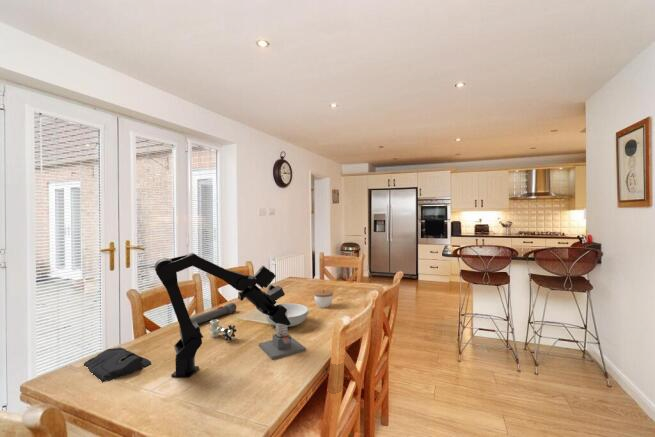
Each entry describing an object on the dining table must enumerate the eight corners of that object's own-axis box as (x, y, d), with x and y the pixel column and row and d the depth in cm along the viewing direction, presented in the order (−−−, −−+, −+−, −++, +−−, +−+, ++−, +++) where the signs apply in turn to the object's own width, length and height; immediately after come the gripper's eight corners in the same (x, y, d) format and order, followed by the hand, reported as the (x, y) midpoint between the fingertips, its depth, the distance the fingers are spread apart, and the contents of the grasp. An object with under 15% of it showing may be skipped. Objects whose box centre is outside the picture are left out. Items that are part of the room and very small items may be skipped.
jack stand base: (271, 359, 115) (271, 345, 114) (258, 345, 126) (258, 332, 126) (305, 350, 122) (305, 337, 122) (290, 338, 134) (290, 325, 134)
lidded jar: (311, 304, 182) (311, 288, 181) (328, 302, 186) (328, 286, 186) (318, 310, 172) (318, 293, 172) (336, 307, 176) (336, 290, 176)
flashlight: (185, 327, 148) (184, 316, 148) (230, 310, 172) (230, 301, 172) (192, 329, 146) (191, 318, 145) (236, 312, 170) (236, 303, 170)
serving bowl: (256, 329, 144) (256, 314, 144) (275, 315, 164) (275, 302, 164) (300, 333, 139) (300, 318, 139) (313, 318, 159) (313, 304, 159)
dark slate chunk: (126, 350, 124) (126, 338, 124) (154, 366, 111) (154, 353, 111) (79, 366, 112) (79, 353, 111) (104, 386, 99) (103, 371, 99)
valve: (205, 337, 135) (224, 343, 129) (205, 322, 135) (224, 327, 129) (217, 332, 141) (236, 337, 135) (217, 317, 141) (236, 322, 135)
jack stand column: (279, 339, 122) (279, 310, 121) (275, 335, 125) (275, 307, 124) (287, 337, 124) (287, 308, 123) (283, 334, 127) (283, 306, 126)
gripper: (281, 285, 114) (308, 310, 120) (263, 276, 129) (287, 298, 136) (260, 310, 110) (289, 335, 116) (244, 298, 125) (270, 320, 132)
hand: (284, 320), depth 125 cm, fingers open, 9 cm apart
